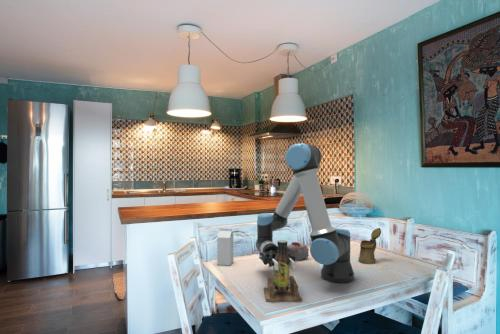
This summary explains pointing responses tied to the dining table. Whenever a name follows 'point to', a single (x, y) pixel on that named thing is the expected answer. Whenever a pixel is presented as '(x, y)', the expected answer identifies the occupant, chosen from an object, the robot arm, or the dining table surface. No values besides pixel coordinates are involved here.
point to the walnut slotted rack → (282, 292)
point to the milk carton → (225, 247)
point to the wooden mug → (369, 248)
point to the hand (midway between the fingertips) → (285, 266)
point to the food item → (298, 250)
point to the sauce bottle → (282, 267)
